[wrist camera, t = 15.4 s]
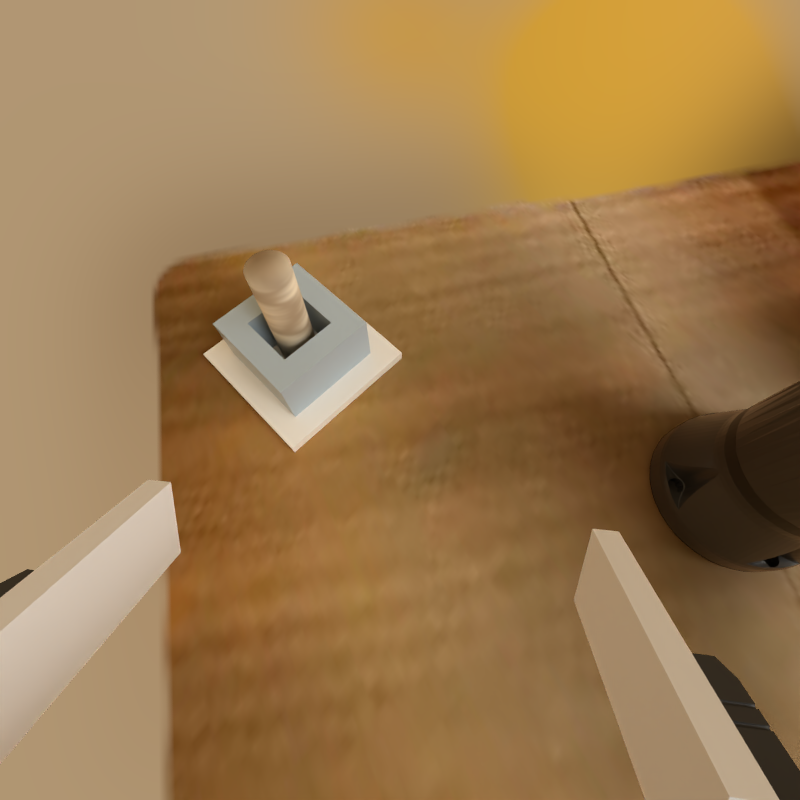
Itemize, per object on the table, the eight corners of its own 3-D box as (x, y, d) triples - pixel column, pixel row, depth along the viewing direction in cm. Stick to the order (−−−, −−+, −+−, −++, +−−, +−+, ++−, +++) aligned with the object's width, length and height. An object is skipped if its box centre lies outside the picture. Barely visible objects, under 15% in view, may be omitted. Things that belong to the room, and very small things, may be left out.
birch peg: (304, 332, 50) (271, 242, 37) (327, 353, 49) (300, 267, 36) (277, 354, 49) (233, 268, 36) (300, 375, 48) (263, 295, 35)
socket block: (312, 281, 55) (299, 238, 48) (401, 358, 50) (401, 322, 43) (207, 359, 50) (177, 324, 44) (294, 452, 45) (276, 428, 39)
